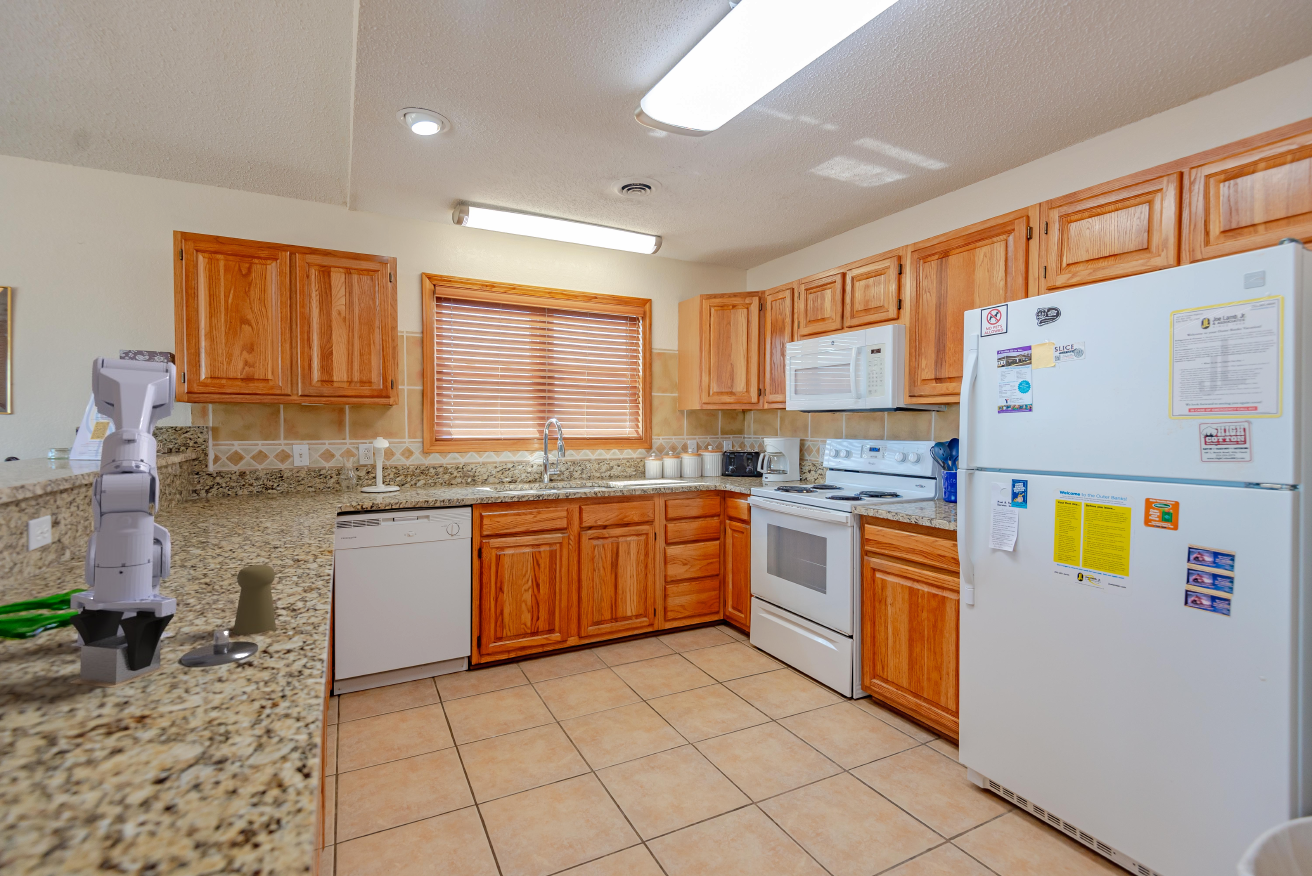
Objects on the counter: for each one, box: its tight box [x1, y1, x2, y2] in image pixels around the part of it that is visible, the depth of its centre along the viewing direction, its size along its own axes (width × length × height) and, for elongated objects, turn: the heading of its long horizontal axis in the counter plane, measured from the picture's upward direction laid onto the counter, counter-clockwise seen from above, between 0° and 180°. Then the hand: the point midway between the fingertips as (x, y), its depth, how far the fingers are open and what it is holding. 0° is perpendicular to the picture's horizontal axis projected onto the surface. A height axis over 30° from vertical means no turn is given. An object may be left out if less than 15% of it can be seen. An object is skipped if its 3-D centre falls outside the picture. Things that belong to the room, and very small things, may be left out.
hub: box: [180, 628, 259, 668], centre depth 86 cm, size 9×9×4 cm
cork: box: [232, 564, 277, 636], centre depth 98 cm, size 6×6×11 cm
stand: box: [69, 665, 170, 689], centre depth 79 cm, size 7×7×4 cm
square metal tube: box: [79, 633, 162, 685], centre depth 79 cm, size 6×6×4 cm
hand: (121, 666), depth 79 cm, fingers closed on square metal tube, 6 cm apart
